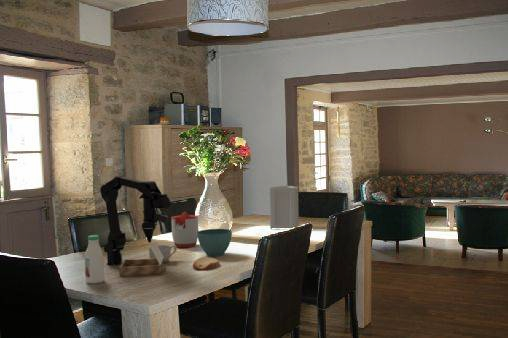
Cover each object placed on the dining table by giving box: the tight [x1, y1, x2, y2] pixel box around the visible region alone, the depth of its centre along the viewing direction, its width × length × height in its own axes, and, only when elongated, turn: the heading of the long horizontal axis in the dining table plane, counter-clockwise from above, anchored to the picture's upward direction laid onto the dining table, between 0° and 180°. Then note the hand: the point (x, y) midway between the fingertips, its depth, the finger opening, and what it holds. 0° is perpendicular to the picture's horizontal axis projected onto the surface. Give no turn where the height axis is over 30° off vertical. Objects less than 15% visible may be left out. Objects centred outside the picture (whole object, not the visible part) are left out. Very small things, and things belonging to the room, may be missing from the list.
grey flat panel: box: [150, 240, 164, 265], centre depth 251 cm, size 9×15×1 cm
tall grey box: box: [268, 185, 300, 230], centre depth 366 cm, size 19×15×28 cm
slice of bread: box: [192, 256, 220, 272], centre depth 260 cm, size 18×18×4 cm
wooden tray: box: [118, 258, 164, 277], centre depth 251 cm, size 18×16×4 cm
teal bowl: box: [197, 228, 233, 257], centre depth 284 cm, size 18×18×12 cm
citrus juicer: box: [170, 211, 199, 249], centre depth 308 cm, size 16×17×20 cm
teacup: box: [148, 244, 177, 263], centre depth 270 cm, size 14×11×8 cm
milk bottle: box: [84, 234, 105, 284], centre depth 233 cm, size 8×8×20 cm
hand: (150, 240), depth 257 cm, fingers open, 9 cm apart
